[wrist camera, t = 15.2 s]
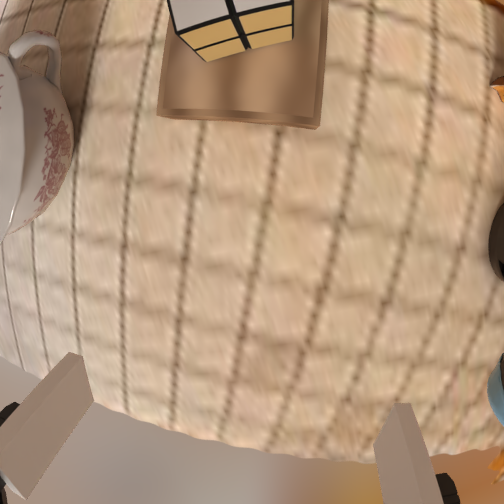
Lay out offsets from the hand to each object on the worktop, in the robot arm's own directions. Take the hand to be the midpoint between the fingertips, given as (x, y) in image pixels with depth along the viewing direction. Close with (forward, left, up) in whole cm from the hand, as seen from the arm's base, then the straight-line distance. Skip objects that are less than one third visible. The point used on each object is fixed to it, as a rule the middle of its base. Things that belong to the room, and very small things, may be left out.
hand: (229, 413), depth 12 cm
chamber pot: (+38, -10, -32) cm, 51 cm away
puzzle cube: (+6, -25, -26) cm, 37 cm away
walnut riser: (+5, -22, -32) cm, 39 cm away
